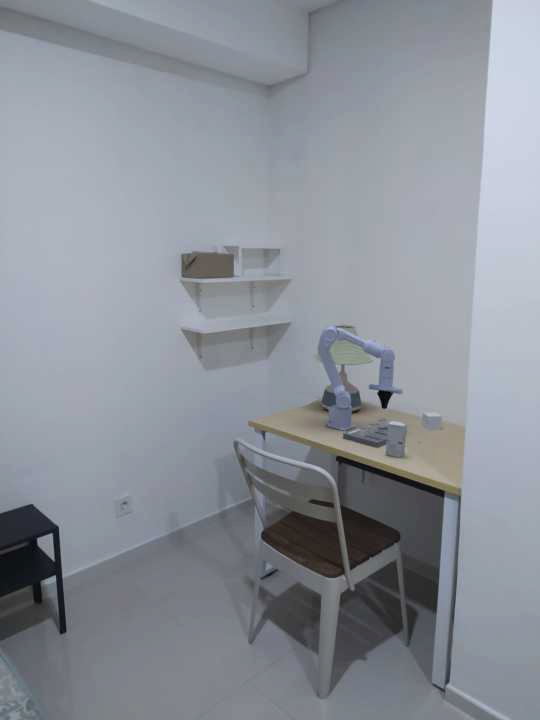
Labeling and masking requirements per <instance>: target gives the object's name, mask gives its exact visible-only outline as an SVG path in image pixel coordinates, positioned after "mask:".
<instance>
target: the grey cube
mask: <svg viewBox="0 0 540 720" xmlns="http://www.w3.org/2000/svg"><path fill="white" fill-rule="evenodd" d="M442 421H443V416H442V415H440V414H439V413H438V412H422V421H421V426H422V427H423V428H424V429H426V430H427V431H434V430H435V431H437V430H438V431H439V430H441V429H442Z"/></svg>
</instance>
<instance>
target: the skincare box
mask: <svg viewBox="0 0 540 720" xmlns="http://www.w3.org/2000/svg"><path fill="white" fill-rule="evenodd" d="M387 426H388V432H387V444H385V445H386V446H385V455H386V456H390V457H396V458H402V457H403V456H404V455H405V451H406V450H405V449H406V448H405V447H406V437H407V433H406V431H407V426H408V423H405V422H401V421H393V420H391V421H389V423H387Z"/></svg>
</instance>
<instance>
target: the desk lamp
mask: <svg viewBox="0 0 540 720" xmlns="http://www.w3.org/2000/svg"><path fill="white" fill-rule="evenodd" d="M334 326H335V327H336V328H337V327H338V328H341V329H343V330H346V331H348V332H350V333H352V334H354V335H355V336H357V337H359V336H358V333H357V330H356V327H355V326H352V325H347V323H345V322H344V323H342V325H334ZM329 351H330V353H331V356H332V358H333V360H334V363H335V365H341V367H340V371H339V372H338V373H339V375H340V377H341V380H342V382H343V384H344V386H345V388H346V390H347V391H348V392H349V393H350V394H351V406H352V413H353V412H355V411H357V410H358V409H359V410H360V409H361V407H362V400H361V393H360V390H359V388H358V387H356V386H355V385H354V384H352V383H350V382H349V381H348V374H347V373H346V371H345V369H346V368H345V366H358V365H366V364H370V363H373V362H374V359H373V358H371V357H370V356H369V355H370V354H368V353H365V352H364V351H363V348H362V347H360V346H358V345H355V344H353V343H351V342H348V341H346V340H342V341H338V338H337V339H336V341H335V342H334V343H333V344H332V345H331V347H330V350H329ZM314 359H315V360H316V361H318V362H320V363H322V360H321V358H320V356H319V353H318V352H317V353H316V354H315V355H314ZM322 395H323V396H322V399H321V406H322V407H323V408H324V409H326V410H328V411H329V409H330V407H331V406H333V405H336V396H335V393H334V389H333V387H332V384H331V383H330V384H329V385H326V387H325V388H324V391H323V394H322Z"/></svg>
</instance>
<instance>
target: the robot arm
mask: <svg viewBox="0 0 540 720" xmlns="http://www.w3.org/2000/svg"><path fill="white" fill-rule="evenodd" d="M335 326H336V325H326V326H325V327H324V328H323V329H322V332H321V334H320V337H319V341H318V346H317V354H318V353H319V356H320V358H321V360H322V362H321V363H322V366H323V367H324V370H325V372H326V374H327V377H328V379H329V382H330V385H331V384H332V387H333V389H334V393H335V396H336V405H333V406H331V407H330V409H329V410H328V414H327V416H328V418H327V424H326V427H328V428H331V429H335V430H339V431H343V432H346V431H349V430H351V429H354V428H356V425H352V413H353V412H352V406H351V394H350V393H349V392H348V391H347V390H346V388H345V386H344V384H343V382H342V380H341V377H340V375H339V373H340V372H339V370H338V368H337V366H336V365H337V364H335V363H334V360H333V358H332V356H331V353H330V351H329V350H330V347H331V345H332V344H333V343H334V342H335V341H336V339H337V338H338V341H342V340H346V341H348V342H351V343H353V344H355V345H358V346H360V347H362V348H363V351H364V352H365V353H367V354H368V355H370V356H372V357H373V358H374V357H375V358H376V359H380V363H379V370H378V371H379V374H378V384H374V383H371V384H369V385H368V390H372V391H373V390H374V391H378V392H376V395H377V396H378V398H379V401H380V406H381V409H383V410H385V409H387V408H388V405H389V402H390V400H391V398H392V396H393V394H396V395H397V394H398V395H402V394H403V388H398V387H394V384H393V383H394V382H393V381H394V364H395V363H394V361H395V360H396V355H395V352H394V350H393V349H392V348H390V347H389V346H387V345H385V344H380V343H378V342H377V341H376V339H366V340H365V339H363V338H361V337H359V336H358V337H357V336H355V335H354V334H352V333H350V332H348V331H346V330H343V329H341V328H338V327H337V328H336V327H335Z"/></svg>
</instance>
